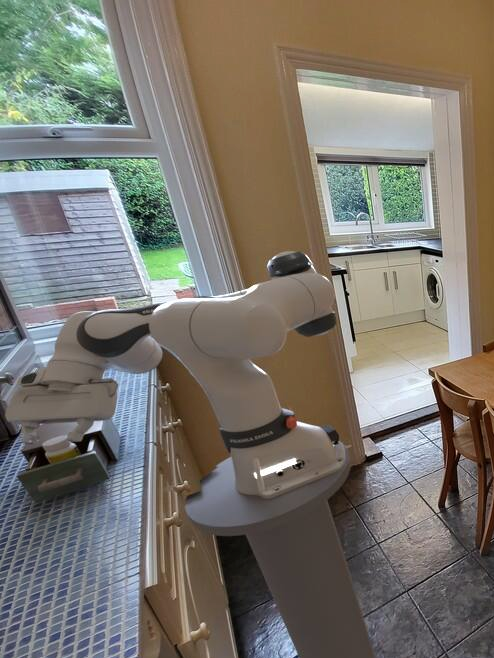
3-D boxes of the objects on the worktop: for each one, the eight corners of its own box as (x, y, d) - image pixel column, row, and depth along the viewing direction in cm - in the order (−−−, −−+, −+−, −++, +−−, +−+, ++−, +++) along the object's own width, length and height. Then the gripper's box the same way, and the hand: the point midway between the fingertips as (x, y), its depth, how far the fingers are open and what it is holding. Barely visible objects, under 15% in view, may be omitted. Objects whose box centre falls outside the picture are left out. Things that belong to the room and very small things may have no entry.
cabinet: (118, 461, 97) (100, 429, 93) (42, 484, 90) (21, 451, 86) (121, 437, 107) (105, 408, 104) (54, 456, 100) (34, 426, 97)
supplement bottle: (93, 469, 90) (74, 437, 87) (64, 482, 87) (43, 448, 83) (84, 464, 93) (65, 432, 89) (56, 476, 89) (35, 443, 85)
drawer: (108, 488, 86) (92, 461, 83) (30, 514, 79) (10, 486, 77) (113, 453, 98) (100, 428, 96) (47, 473, 92) (30, 448, 89)
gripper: (132, 382, 93) (114, 442, 88) (43, 387, 93) (20, 448, 88) (105, 372, 87) (85, 436, 82) (10, 377, 87) (-16, 441, 82)
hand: (51, 442), depth 85 cm, fingers open, 8 cm apart
